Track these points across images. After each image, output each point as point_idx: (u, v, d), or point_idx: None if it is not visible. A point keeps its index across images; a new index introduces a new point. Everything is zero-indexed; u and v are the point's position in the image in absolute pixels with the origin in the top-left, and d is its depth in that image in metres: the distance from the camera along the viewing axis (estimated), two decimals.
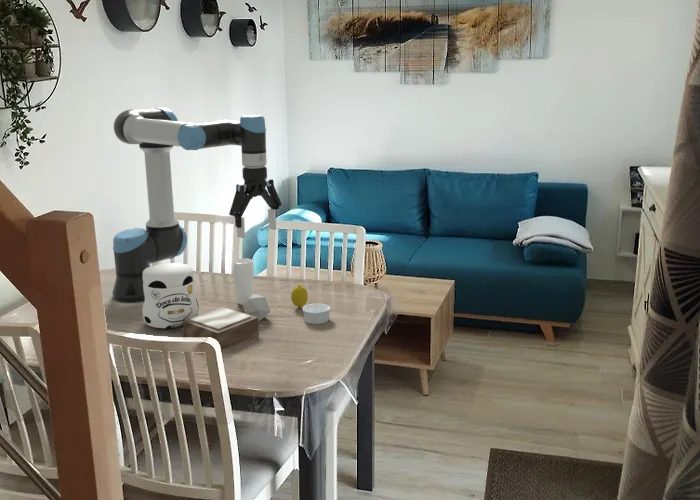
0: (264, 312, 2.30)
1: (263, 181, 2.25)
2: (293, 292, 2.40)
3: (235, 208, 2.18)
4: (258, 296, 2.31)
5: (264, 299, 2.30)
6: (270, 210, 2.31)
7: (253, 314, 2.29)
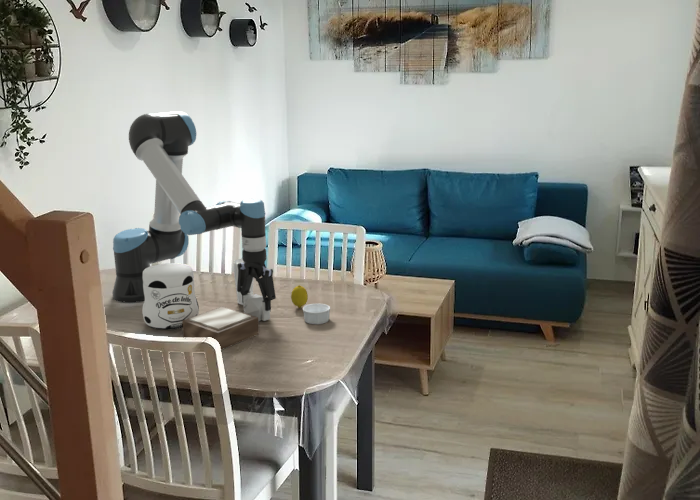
0: None
1: (258, 265, 2.26)
2: (293, 292, 2.40)
3: None
4: (258, 296, 2.31)
5: None
6: None
7: (253, 314, 2.29)
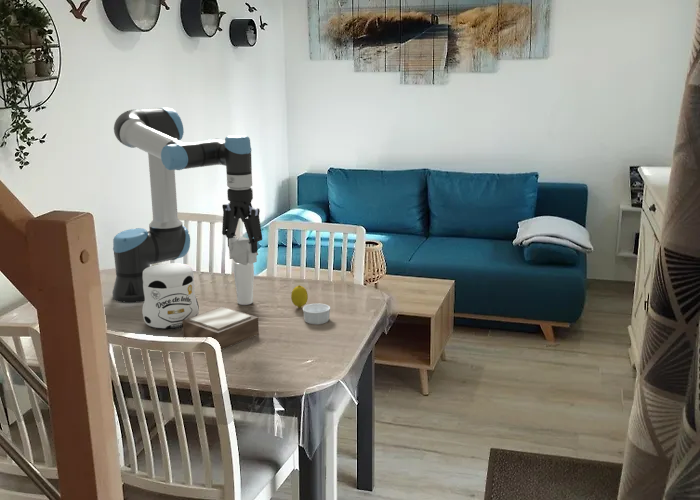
0: None
1: (244, 205, 2.16)
2: (293, 292, 2.40)
3: None
4: (245, 238, 2.21)
5: None
6: None
7: (240, 257, 2.19)
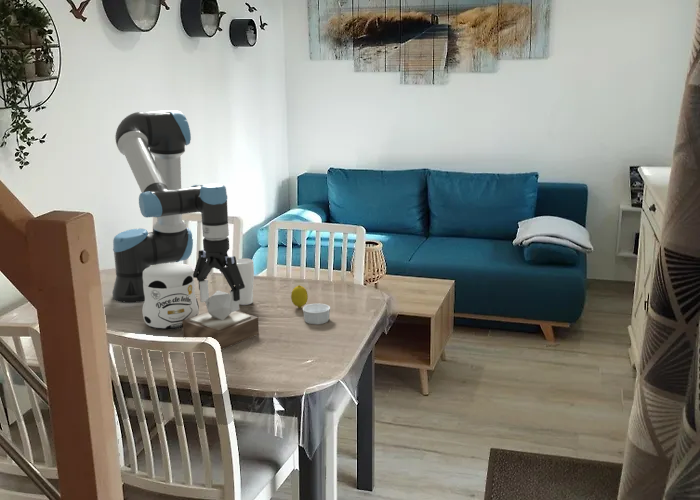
0: (228, 310, 2.15)
1: (219, 255, 2.10)
2: (293, 292, 2.40)
3: None
4: (222, 293, 2.16)
5: (228, 296, 2.15)
6: None
7: (217, 312, 2.13)
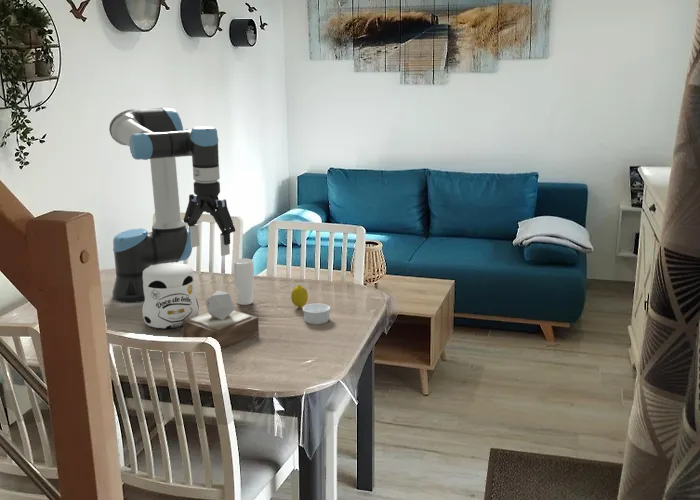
0: (228, 310, 2.15)
1: (210, 199, 2.09)
2: (293, 292, 2.40)
3: None
4: (222, 293, 2.16)
5: (228, 296, 2.15)
6: None
7: (217, 312, 2.13)
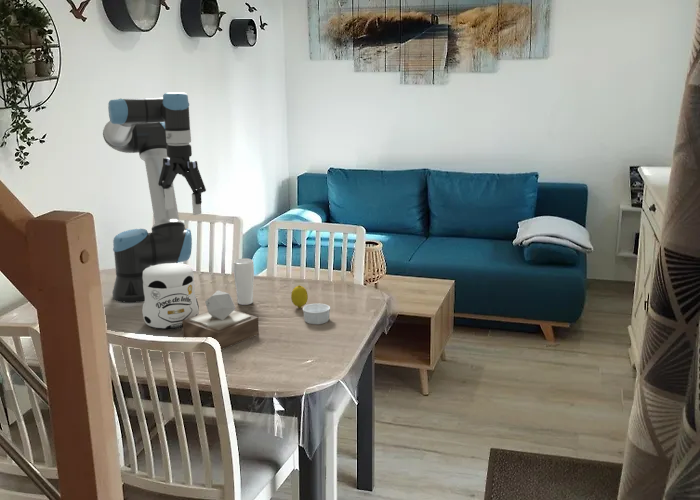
0: (228, 310, 2.15)
1: (182, 161, 2.21)
2: (293, 292, 2.40)
3: None
4: (222, 293, 2.16)
5: (228, 296, 2.15)
6: None
7: (217, 312, 2.13)
